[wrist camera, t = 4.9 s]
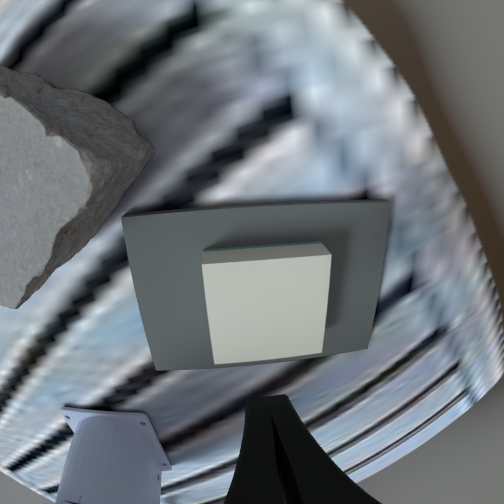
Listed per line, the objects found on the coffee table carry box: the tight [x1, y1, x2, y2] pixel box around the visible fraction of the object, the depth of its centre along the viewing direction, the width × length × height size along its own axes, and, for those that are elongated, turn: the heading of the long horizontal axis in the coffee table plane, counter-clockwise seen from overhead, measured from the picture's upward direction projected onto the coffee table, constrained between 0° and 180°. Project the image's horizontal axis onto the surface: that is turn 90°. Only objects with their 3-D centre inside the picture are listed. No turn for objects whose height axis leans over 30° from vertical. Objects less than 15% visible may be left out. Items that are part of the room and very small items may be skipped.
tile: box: [202, 241, 332, 364], centre depth 16 cm, size 6×2×6 cm
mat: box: [121, 200, 390, 370], centre depth 17 cm, size 10×14×1 cm
